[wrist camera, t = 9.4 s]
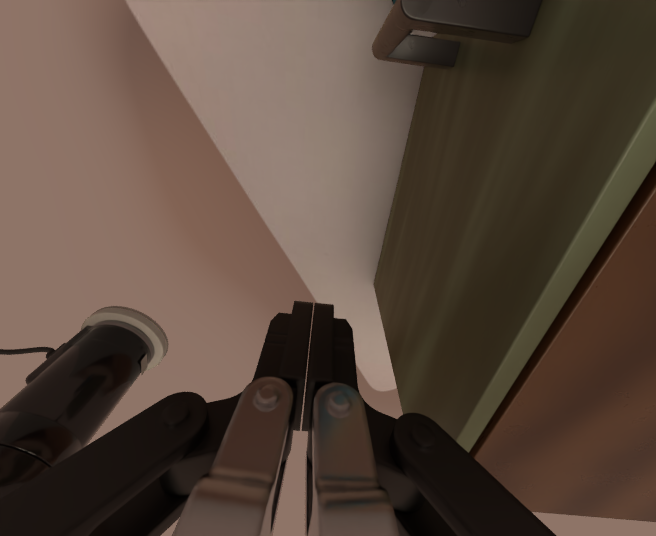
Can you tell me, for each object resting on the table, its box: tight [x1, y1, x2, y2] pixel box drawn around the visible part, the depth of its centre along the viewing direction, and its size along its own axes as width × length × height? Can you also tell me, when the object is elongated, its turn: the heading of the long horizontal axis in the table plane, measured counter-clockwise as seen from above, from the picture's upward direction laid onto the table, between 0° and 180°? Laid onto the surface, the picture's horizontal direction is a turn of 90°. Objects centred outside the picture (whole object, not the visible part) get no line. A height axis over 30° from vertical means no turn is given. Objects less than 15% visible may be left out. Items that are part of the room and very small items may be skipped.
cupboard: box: [469, 162, 656, 522], centre depth 21 cm, size 18×26×24 cm
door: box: [372, 0, 656, 453], centre depth 21 cm, size 7×26×24 cm, turn 173°
